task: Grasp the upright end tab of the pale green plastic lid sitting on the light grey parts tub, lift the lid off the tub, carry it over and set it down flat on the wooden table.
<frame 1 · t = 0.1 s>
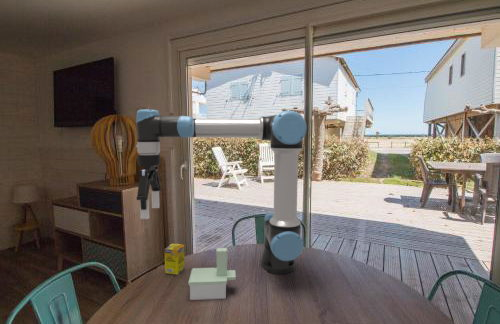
hand: (150, 212, 98), 28 cm above the table, fingers open, 13 cm apart
tub: (209, 293, 97), on the table
walnut cube: (201, 291, 96), point 1 cm above the table, touching tub
lid: (208, 277, 96), point 6 cm above the table, touching tub
supplement box: (175, 272, 111), on the table
beech cube: (216, 291, 97), point 1 cm above the table, touching tub
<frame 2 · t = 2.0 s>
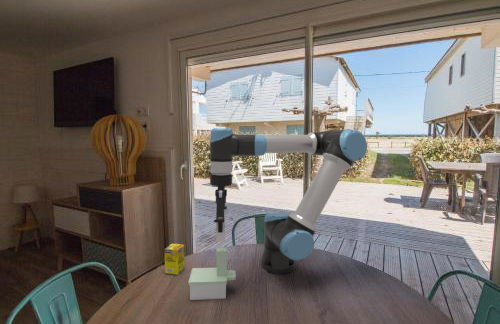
hand: (220, 233, 95), 22 cm above the table, fingers open, 13 cm apart
nothing on the table moved.
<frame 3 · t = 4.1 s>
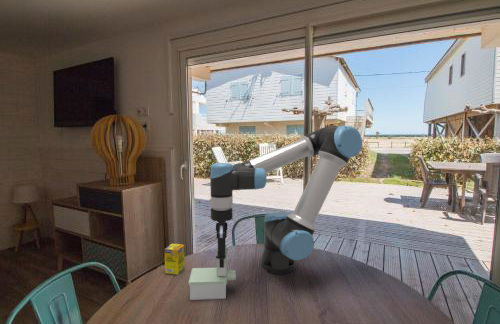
hand: (222, 272, 96), 8 cm above the table, fingers closed on lid, 3 cm apart
lid: (208, 277, 96), point 6 cm above the table, touching gripper
everything else where it was.
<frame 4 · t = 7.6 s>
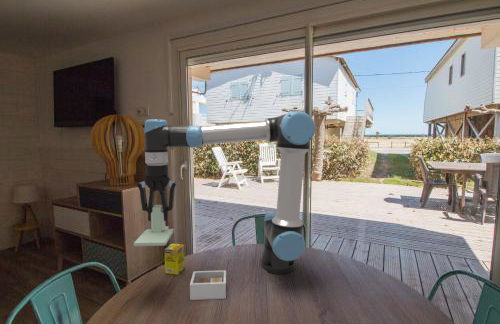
hand: (158, 229, 97), 22 cm above the table, fingers closed on lid, 3 cm apart
lid: (155, 238, 93), point 21 cm above the table, touching gripper
everything else where it was.
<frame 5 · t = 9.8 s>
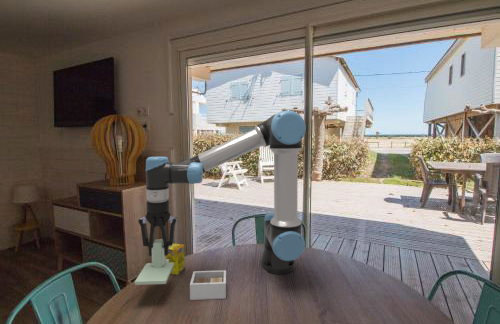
hand: (159, 263, 98), 10 cm above the table, fingers closed on lid, 3 cm apart
lid: (155, 274, 94), point 8 cm above the table, touching gripper
everything else where it was.
when the fingers open (3 cm above the table, at t = 11.3 s): lid drops 2 cm, on the table.
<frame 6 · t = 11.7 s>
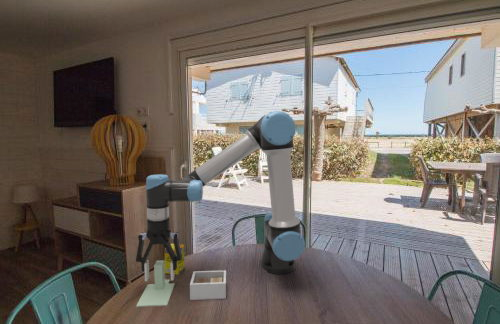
hand: (159, 278, 99), 4 cm above the table, fingers open, 8 cm apart
lid: (156, 296, 95), on the table
everything else where it was.
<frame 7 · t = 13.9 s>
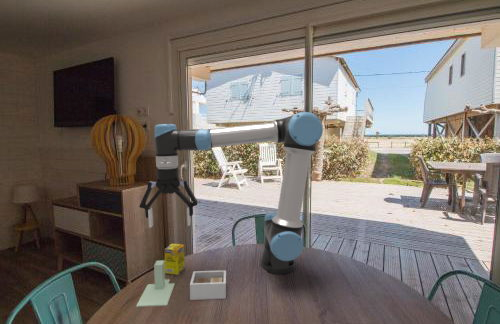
hand: (170, 225, 99), 23 cm above the table, fingers open, 13 cm apart
nothing on the table moved.
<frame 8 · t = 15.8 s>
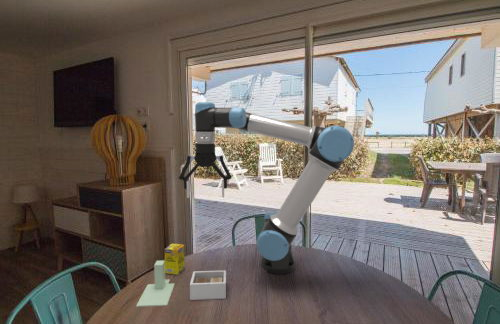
hand: (205, 196, 107), 32 cm above the table, fingers open, 13 cm apart
nothing on the table moved.
at the end: lid inside the target area (0.5 cm from its centre), on the table; lid touching table; the gripper is holding nothing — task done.
